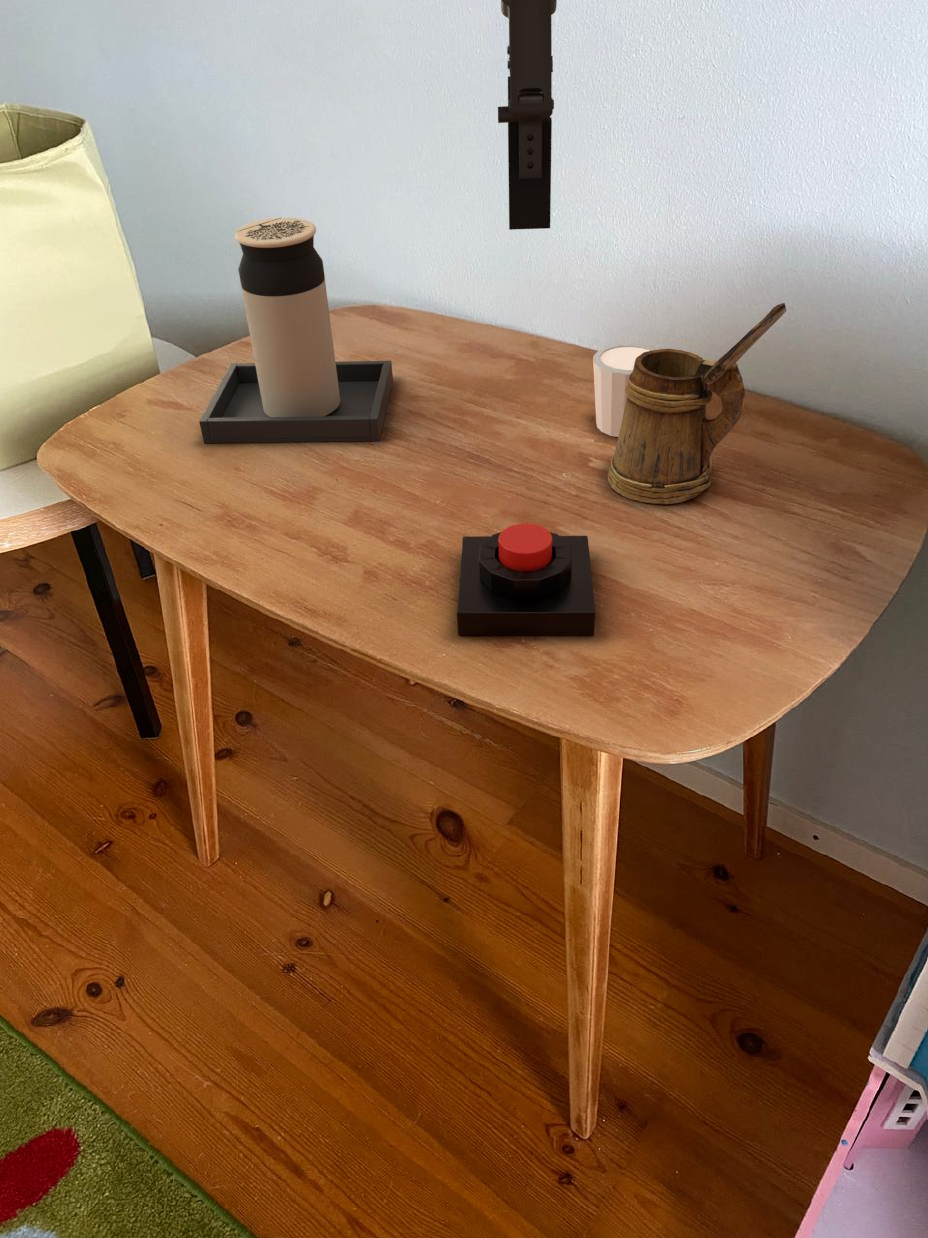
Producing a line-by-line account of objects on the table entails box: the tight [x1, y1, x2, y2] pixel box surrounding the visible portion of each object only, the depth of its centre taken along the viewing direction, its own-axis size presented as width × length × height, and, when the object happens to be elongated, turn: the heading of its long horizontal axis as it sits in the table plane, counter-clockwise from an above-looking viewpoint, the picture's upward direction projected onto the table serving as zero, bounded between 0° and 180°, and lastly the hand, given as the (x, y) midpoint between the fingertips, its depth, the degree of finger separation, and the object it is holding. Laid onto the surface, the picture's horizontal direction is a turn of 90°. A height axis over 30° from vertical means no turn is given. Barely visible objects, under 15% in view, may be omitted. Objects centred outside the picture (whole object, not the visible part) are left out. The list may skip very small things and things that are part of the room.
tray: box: [198, 360, 394, 444], centre depth 102 cm, size 18×14×2 cm
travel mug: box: [234, 217, 340, 417], centre depth 97 cm, size 8×8×18 cm
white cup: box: [592, 343, 657, 438], centre depth 96 cm, size 7×7×7 cm
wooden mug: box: [607, 302, 787, 505], centre depth 82 cm, size 9×14×18 cm, turn 54°
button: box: [499, 523, 552, 571], centre depth 74 cm, size 4×4×2 cm
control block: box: [456, 531, 596, 637], centre depth 75 cm, size 10×10×4 cm
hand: (527, 197), depth 70 cm, fingers open, 13 cm apart
